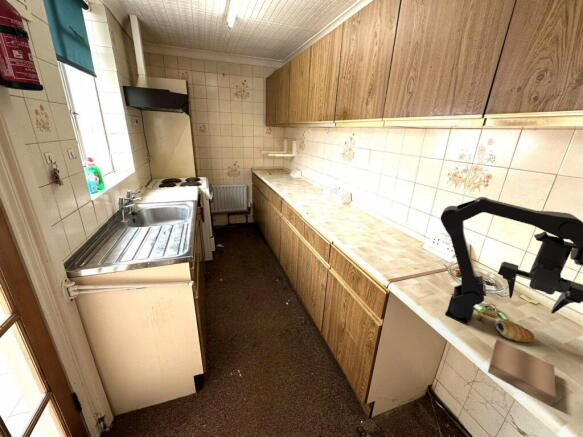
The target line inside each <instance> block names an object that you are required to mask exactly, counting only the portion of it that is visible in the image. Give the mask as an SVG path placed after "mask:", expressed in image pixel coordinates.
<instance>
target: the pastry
mask: <svg viewBox="0 0 583 437" xmlns="http://www.w3.org/2000/svg"><path fill="white" fill-rule="evenodd" d="M494 325H495V329H496V330H497V331H498V332H499V333H500V335H502V336H503V337H504V338H506V339H507V340H514V341H515V342H522V343H531V342H532V343H533V342H535V337H536V336H535V334H534V333H533V332H532V331H531V330H530V329H528V328H525V327H524V326H522V325H519V324H518V323H515V322H513V321H508V320H506V319H503V320H502V319H499V320H498V321H495V323H494Z"/></svg>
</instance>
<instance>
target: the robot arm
mask: <svg viewBox="0 0 583 437" xmlns="http://www.w3.org/2000/svg"><path fill="white" fill-rule="evenodd" d="M483 213H484V214H485V213H486V214H489V215H494V216H497V217H501V218H504V219H508V220H511V221H516V222H519V223H523V224H527V225H530V226H533V227H535V228H538V229H539V230H542V231H543V232H540V233H537V234H534V235H533V236H534V238H535V240H536V241H537V242H541V243H540V244H541V245H540V247H539V250H538V252H537V254H536V257H535V259H534V261H533V264H532V265H531V268H530V271H529V272H528V271H525V270H522V269H519V266H520V265H518V264H514V263H511V262H508V261H502V262H501V264H500V267H499V269H498V272H497V275H499V276H502V279H504V280H506V282H507V286H508V296H509V299H512V297H513V295H514V289H515V284H516V278H517V277H519V278H523V279H526V280H530V281H529V285H528V286H529V288H530V289H532V290H535V291H540V292H542V293H545V294H548V295H554V294H555V292H557V293H560V295H559V296H558V298H557V300H556V301H555V303H554V304H553V306H552V308H551V311H550V313H551V314H553V315H554V314H555V313H556V312H558V311H559V310H561V309H563V308H564V307H565V306H567V305H569V304H573V303H575V304H581V303H583V283H580V282H575V281H573V280H570V279H566V278H564V277H562V272H563V270H564V267H565V265H566V264H567V261H568V259H569V257H570V259H571V261H572V260H573V261H574V264H575V265H577V266H582V267H583V221H582V220H581V219H579V218H578V217H576V215H573V214H572V213H570V212H569V213H568V212H559V211H553V210H552V211H550V210H535V209H531V208H528V207H523V206H518V205H514V204H511V203H507V202H502V201H498V200H495V199H490V198H488V197H485V196H480V197H478V198H475V199H473V200H470V201H467V202H464V203H461V204H459V205H449V206H447V207H445V208H444V209H443V211H442V213H441V214H440V221H441V224H442V225H443V228H444V230H445V231H446V233H447V234H448V235H449V237H450V240H451V241H450V242H451V244H452V248H453V251H454V254H455V259H456V262H457V266H458V269H459V273H460V276H461V284H458V285H455V286H454V288H453V294H452V296H451V297H450V299H449V302H448V307H447V310H445V312H444V313H445V314H444V315H445V316H446V317H449V318H451V319H454V320H456V321H457V322H460V323H462V324H464V325H468V322H470V321H471V319H472V318H473V314H474V311H475V310H476V309H475V306H476V305H480V304H482V303H483V302H484V301H485V297H487V286H486V284H485V283H484V277H483V275H477V274H476V271H475V269H474V268H475V267H474V264H473V262H472V258H471V257H472V256H471V254H470V250H469V247H468V243H467V240H466V235H465V232H464V231H465V230H464V229H465V228H464V227H465V224H464V222H465V221H467V220H469V219H471V218H474V217H476V216H478V215H480V214H483ZM549 234H550V235H549ZM566 240H569V241H566Z"/></svg>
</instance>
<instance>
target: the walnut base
mask: <svg viewBox="0 0 583 437" xmlns="http://www.w3.org/2000/svg"><path fill="white" fill-rule="evenodd" d="M488 365H489V366H488V370H487V373H488V374H490V375H492V376H493V377H496V378H497V379H500V380H501V381H502V382H505V383H506V384H509V385H510V386H512V387H514V388H515V389H517V390H520V391H522V392H524V393H525V394H527V395H529V396H531V397H533V398H535V399H537V400H538V401H540V402H541V403H543V404H546V405H547V406H550V407H552V405H553V403H554V402H555V399H556V397H557V396H556V378H555V377H556V376H555V374H556V373H555V365H554V364H553V363H550V362H548V361H545V360H543V359H541V358H539V357H537V356H535V355H532V354H530V353H528V352H526V351H524V350H522V349H519V348H517V347H515V346H513V345H510V344H508V343H506V342H504V341H502V340H500V339H498V338H497V339H496V341H495V342H494V345H493V349H492V353H491V357H490V362H489V364H488Z"/></svg>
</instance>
